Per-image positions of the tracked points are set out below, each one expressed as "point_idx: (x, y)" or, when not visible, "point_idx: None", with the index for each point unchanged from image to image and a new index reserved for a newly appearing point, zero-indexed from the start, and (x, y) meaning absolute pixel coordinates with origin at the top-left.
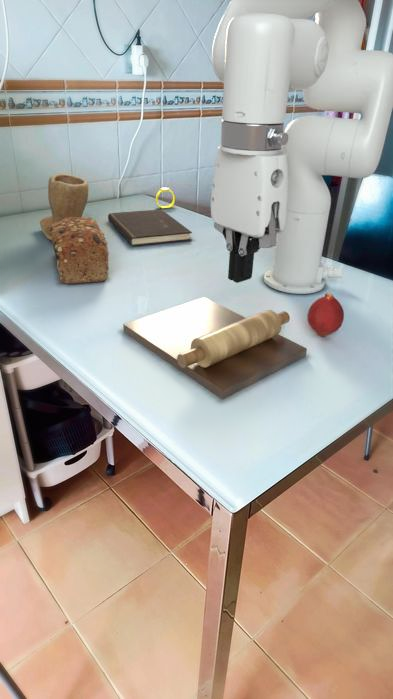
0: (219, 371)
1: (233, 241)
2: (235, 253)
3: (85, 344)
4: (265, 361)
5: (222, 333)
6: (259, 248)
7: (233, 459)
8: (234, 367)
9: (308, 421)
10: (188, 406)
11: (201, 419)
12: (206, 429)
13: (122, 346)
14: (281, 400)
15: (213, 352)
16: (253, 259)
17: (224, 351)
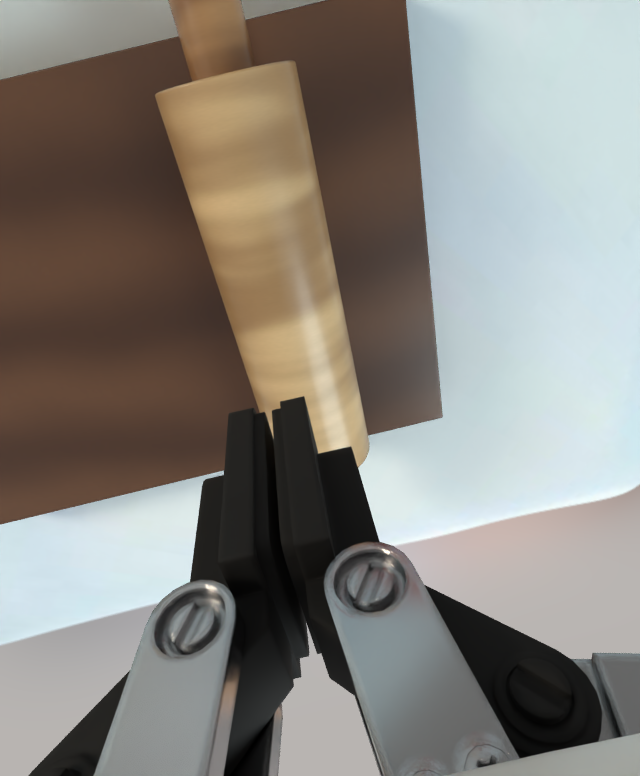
0: (365, 390)
1: (271, 770)
2: (291, 649)
3: (64, 584)
4: (392, 234)
5: (324, 411)
6: (477, 614)
7: (582, 458)
8: (370, 344)
9: (626, 262)
10: (410, 470)
11: (460, 464)
12: (490, 466)
13: (98, 522)
14: (525, 272)
15: (367, 443)
16: (318, 479)
17: (360, 398)
